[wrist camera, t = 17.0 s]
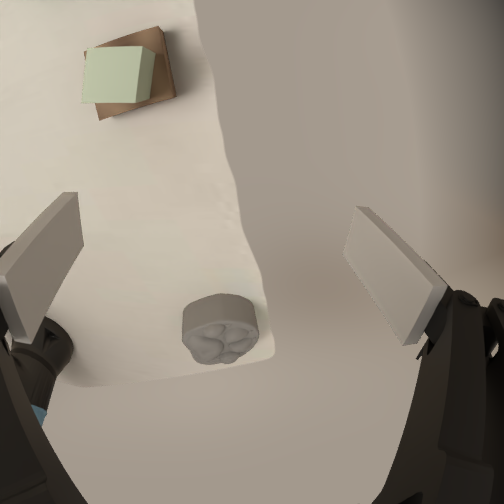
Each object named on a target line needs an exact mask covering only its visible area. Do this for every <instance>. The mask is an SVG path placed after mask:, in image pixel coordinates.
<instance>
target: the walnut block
mask: <svg viewBox="0 0 504 504" xmlns="http://www.w3.org/2000/svg"><path fill="white" fill-rule="evenodd" d="M121 46H143V47H145V48H147V49H149V50H151V51H152V52H154V53H156V55H155V61H154V68H153V75H152V83H151V91H150V99H147V100H144V101H140V102H137V103H95V105H96V109H97V113H98V117H99V121H100V120H103V119H106V118H108V117H111V116H114V115H117V114H120V113H123V112H126V111H129V110H133V109H136V108H139V107H142V106H146V105H149V104H153V103H156V102H160V101H163V100H167V99H171V98H174V97H177V96H176V91H175V87H174V82H173V77H172V73H171V68H170V63H169V58H168V53H167V48H166V43H165V38H164V33H163V31H162V30H161V29H160V27H159V26H156V27H153V28H149V29H146V30H143V31H139V32H136V33H133V34H130V35H127V36H124V37H121V38H118V39H115V40H112V41H110V42H107V43H104V44H102V45H99V46H97V47H94V48H100V47H121ZM86 54H87V51H84V56H85V61H86Z"/></svg>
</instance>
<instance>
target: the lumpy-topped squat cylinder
mask: <svg viewBox="0 0 504 504" xmlns="http://www.w3.org/2000/svg"><path fill="white" fill-rule="evenodd" d="M258 338H259V330H258V325H257V320H256V316H255V311H254V307H253V304H252V303H251V302H250V301H249V300H248V299H246V298H244V297H242V296H239V295H233V294H215V295H211V296H208V297H205V298H202V299H199V300H197V301H194V302H192V303H190V304H188V305H187V306H186V307H185V309H184V311H183V324H182V342H183V344H184V345H185V346H186V347H187V348H188V349H189V350H190V352H191V354H192V356H193V358H194V360H195V361H196V362H198V363H201V364H207V365H211V364H218V363H224V364H230V363H233V362H235V361H236V360H237V359H238V358H239V357H241V356H243V355H244V354H245V353H247V352H248V351H249V350H251V349H252V348H253V347H254V345H255V344H256V342H257V340H258Z"/></svg>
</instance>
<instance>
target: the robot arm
mask: <svg viewBox="0 0 504 504" xmlns="http://www.w3.org/2000/svg"><path fill="white" fill-rule="evenodd" d="M83 246H84V242H83V235H82V228H81V220H80V212H79V202H78V192H63V193H62V194H61V195H60V196H59V197H58V198H57V199H56V200H55V201H54V202H53V203H52V204H51V205H49V206H48V207H47V208H46V209H45V210H44V211H43V212H42V213H41V214H40V215H39V216H38V217H37V218H36V219H35V220H34V221H33V222H32V224H31V225H30V226H29V227H28V228H27V229H26V230H25V231H24V232H23V233H22V234H21V235H20V236H19V237H18V238H17V240H16V241H14V242H12V243H11V244H9V245H8V246H6V247H5V248H4V249H3V250H2V251H1V252H0V504H88V503H87V502H86V500H85V499H84V498H83V497H82V495H81V493H80V492H79V490H78V489H77V488H76V486H75V484H74V483H73V481H72V480H71V478H70V477H69V475H68V474H67V472H66V470H65V469H64V467H63V465H62V464H61V462H60V460H59V459H58V457H57V455H56V453H55V452H54V450H53V448H52V446H51V445H50V443H49V441H48V439H47V437H46V435H45V433H44V431H43V429H42V424H43V421H44V418H45V416H46V415H47V409H48V405H49V401H50V398H51V394H52V391H53V387H54V384H55V381H56V378H57V376H58V375H59V373H60V372H61V371H62V370H63V368H64V367H65V366H66V365H67V364H68V363H69V361H70V359H71V356H72V353H73V344H72V341H71V339H70V337H69V336H68V334H67V333H66V332H65V331H64V330H63V329H62V328H61V327H60V326H59V325H58V324H56V323H55V322H54V321H52V320H50V319H48V318H46V317H44V316H45V314H46V312H47V310H48V308H49V307H50V305H51V303H52V301H53V299H54V297H55V295H56V293H57V291H58V289H59V288H60V286H61V284H62V282H63V280H64V279H65V277H66V275H67V273H68V271H69V270H70V268H71V266H72V265H73V263H74V261H75V259H76V258H77V256H78V254H79V253H80V251H81V249H82V248H83ZM343 256H344V257H345V259H346V260H347V262H348V263H349V264H350V266H351V267H352V269H353V270H354V272H355V273H356V275H357V276H358V278H359V279H360V281H361V282H362V284H363V285H364V287H365V288H366V290H367V291H368V292H369V294H370V295H371V297H372V299H373V300H374V302H375V303H376V305H377V306H378V308H379V309H380V311H381V312H382V314H383V316H384V317H385V319H386V320H387V322H388V323H389V325H390V326H391V328H392V330H393V331H394V333H395V334H396V336H397V338H398V339H399V341H400V342H401V344H402V346H404V345H410V344H417V343H418V341H419V339H420V338H421V336H422V334H423V333H424V332H425V333H426V335H427V336H428V337H429V338H428V339H427V341H426V343H425V344H424V346H423V348H422V349H421V351H420V353H419V354H418V356H417V358H416V359H417V360H418V359H419V358H420V356H422V360H421V365H420V370H419V375H418V379H417V383H416V387H415V392H414V396H413V400H412V403H411V407H410V411H409V414H408V418H407V421H406V425H405V428H404V431H403V435H402V438H401V441H400V444H399V447H398V450H397V453H396V456H395V459H394V461H393V464H392V467H391V470H390V472H389V475H388V478H387V480H386V483H385V485H384V487H383V489H382V491H381V493H380V494H379V495H378V496H377V498H376V499H375V500H374V501H373V502H372V504H504V300H502V299H499V298H493V299H492V301H491V302H490V304H489V306H488V308H486V307H481V306H480V304H479V302H478V300H476V298H475V297H473V296H472V295H471V294H469V293H467V292H465V291H462V290H456V291H453V290H452V289H451V288H450V286H449V285H448V284H447V283H446V282H445V281H444V280H443V279H442V278H441V277H440V276H439V275H437V273H436V271H435V270H434V269H432V267H431V266H430V265H429V264H428V263H427V262H426V261H425V260H423V259H422V258H421V257H420V256H419V255H418V254H417V253H416V252H415V251H414V250H413V249H412V248H411V247H410V246H409V245H408V244H407V243H406V242H405V241H404V240H403V239H402V238H401V237H400V236H399V235H398V234H397V233H396V232H395V231H394V230H392V228H390V227H389V226H388V225H387V224H386V223H385V222H384V221H383V220H382V219H381V218H380V217H379V216H378V215H376V214H375V213H374V212H373V211H372V210H371V209H370V208H368V207H360V206H356V207H355V211H354V215H353V218H352V222H351V226H350V230H349V233H348V237H347V240H346V244H345V247H344V251H343ZM8 329H9V331H10V333H11V335H12V346H11V351H10V349H9V346H8V343H7V341H6V339H5V337H4V336H5V334H6V332H7V330H8ZM497 343H498V345H499V347H498V352H497V353H496V354H495V356H494V357H492V355H491V352H492V351H493V349H494V348H495V346H496V345H497Z"/></svg>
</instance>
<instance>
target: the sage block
mask: <svg viewBox="0 0 504 504" xmlns="http://www.w3.org/2000/svg"><path fill="white" fill-rule="evenodd" d="M155 55H156V53H154V52H152V51H151V50H149V49H147V48H145V47H143V46H121V47H100V48H87V54H86V61H85V70H84V79H83V89H82V102H81V103H137V102H140V101H144V100H147V99H150V91H151V83H152V75H153V68H154V61H155Z"/></svg>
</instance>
